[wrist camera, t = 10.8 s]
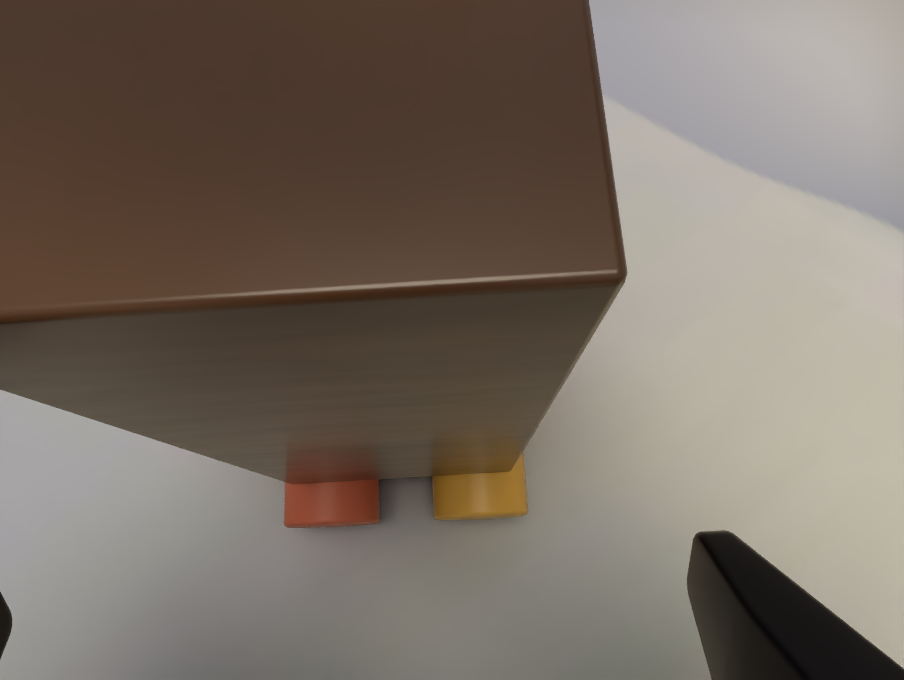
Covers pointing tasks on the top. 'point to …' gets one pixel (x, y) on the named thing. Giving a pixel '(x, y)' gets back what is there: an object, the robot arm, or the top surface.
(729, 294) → the top surface
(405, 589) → the top surface
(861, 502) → the top surface
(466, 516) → the twin coloured cylinders
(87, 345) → the bar
